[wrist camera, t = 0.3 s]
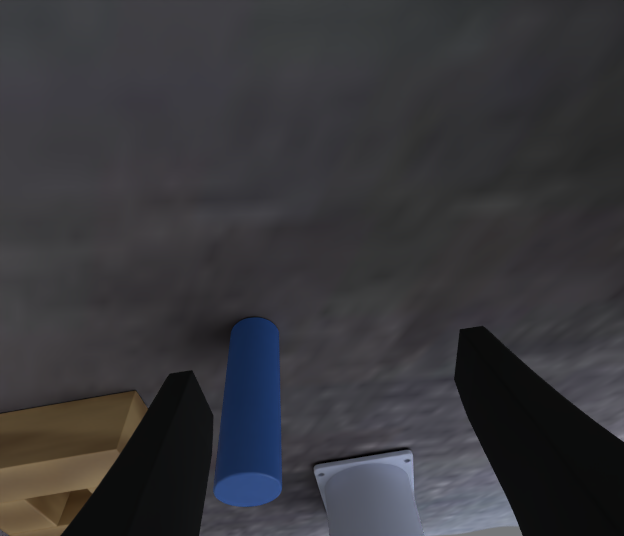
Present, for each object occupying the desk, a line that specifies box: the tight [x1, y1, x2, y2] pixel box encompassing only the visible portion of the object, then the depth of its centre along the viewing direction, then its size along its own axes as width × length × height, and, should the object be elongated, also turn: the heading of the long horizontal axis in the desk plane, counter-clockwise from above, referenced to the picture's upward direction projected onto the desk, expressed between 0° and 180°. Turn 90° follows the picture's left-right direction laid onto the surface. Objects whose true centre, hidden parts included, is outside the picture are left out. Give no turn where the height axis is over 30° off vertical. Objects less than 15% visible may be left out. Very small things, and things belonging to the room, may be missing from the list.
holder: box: [0, 391, 148, 536], centre depth 28 cm, size 11×11×4 cm
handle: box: [213, 317, 282, 507], centre depth 20 cm, size 3×3×9 cm
